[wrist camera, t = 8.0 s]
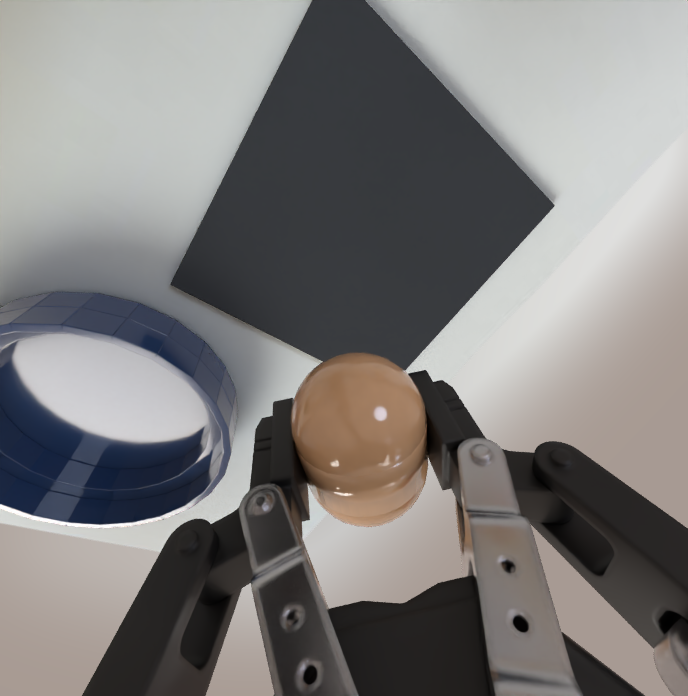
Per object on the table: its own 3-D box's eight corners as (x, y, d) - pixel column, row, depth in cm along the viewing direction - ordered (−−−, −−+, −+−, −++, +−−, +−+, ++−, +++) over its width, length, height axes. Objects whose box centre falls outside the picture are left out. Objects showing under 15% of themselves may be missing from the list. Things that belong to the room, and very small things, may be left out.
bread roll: (276, 342, 12) (272, 436, 8) (400, 316, 12) (450, 398, 8) (312, 462, 16) (321, 566, 12) (408, 440, 16) (447, 537, 12)
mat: (172, 282, 25) (170, 284, 25) (329, -33, 18) (331, -37, 17) (383, 389, 33) (384, 393, 33) (550, 204, 26) (555, 205, 25)
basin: (-112, 323, 24) (-197, 365, 20) (183, 263, 24) (161, 292, 20) (65, 498, 35) (35, 548, 31) (264, 453, 35) (261, 497, 31)
